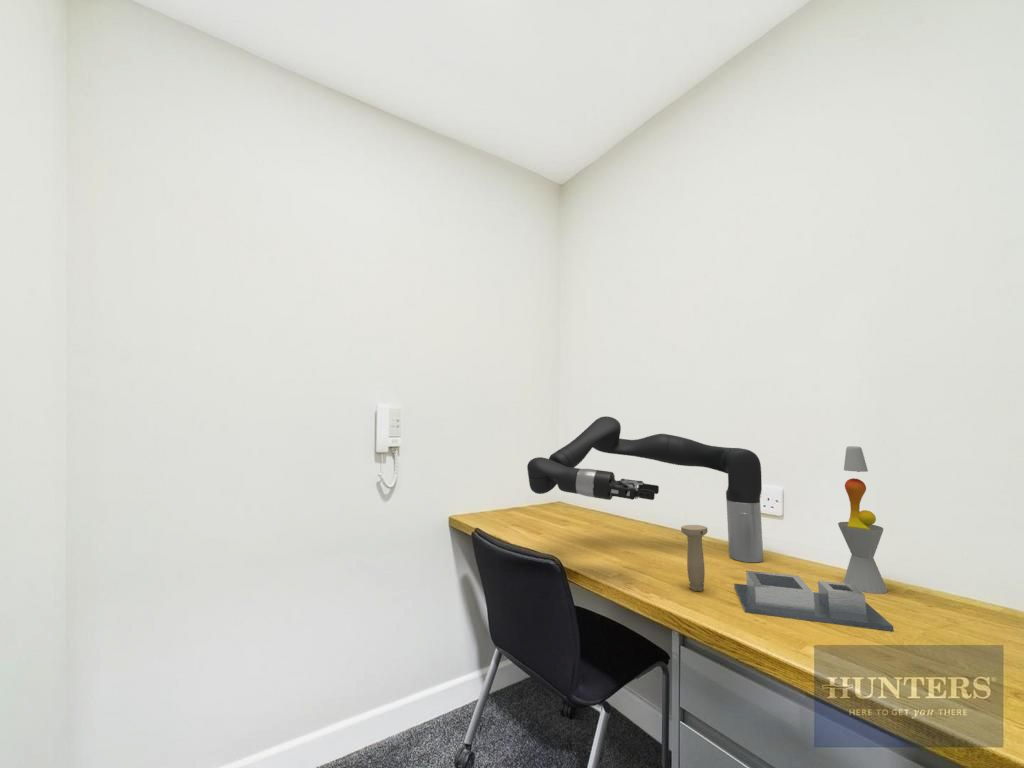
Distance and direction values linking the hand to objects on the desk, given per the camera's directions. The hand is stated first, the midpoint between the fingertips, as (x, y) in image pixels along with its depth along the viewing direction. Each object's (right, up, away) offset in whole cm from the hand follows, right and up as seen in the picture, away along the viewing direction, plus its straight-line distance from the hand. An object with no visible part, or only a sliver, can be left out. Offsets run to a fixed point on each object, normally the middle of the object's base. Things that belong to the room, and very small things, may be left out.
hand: (656, 492), depth 110 cm
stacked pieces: (+51, -23, -4) cm, 56 cm away
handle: (+8, -23, -5) cm, 25 cm away
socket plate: (+28, -22, -15) cm, 38 cm away
